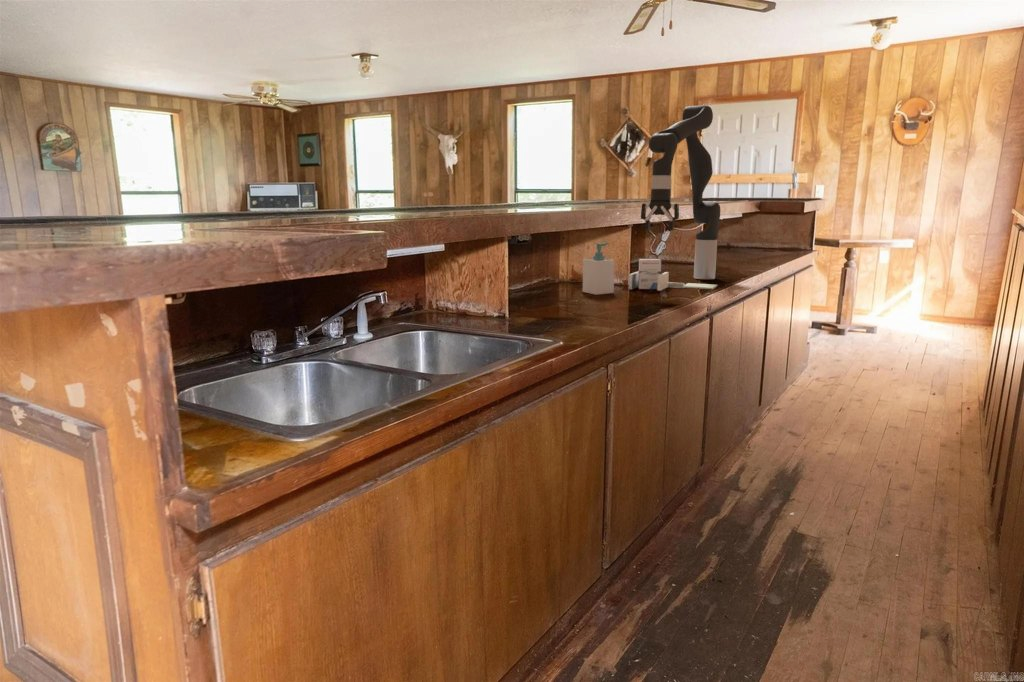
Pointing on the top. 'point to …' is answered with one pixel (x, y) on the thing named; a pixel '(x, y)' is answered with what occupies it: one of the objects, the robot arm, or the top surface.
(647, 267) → the ink box
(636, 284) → the clamp base
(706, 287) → the mat
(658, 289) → the tie jaw
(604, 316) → the top surface
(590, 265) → the soap bottle
